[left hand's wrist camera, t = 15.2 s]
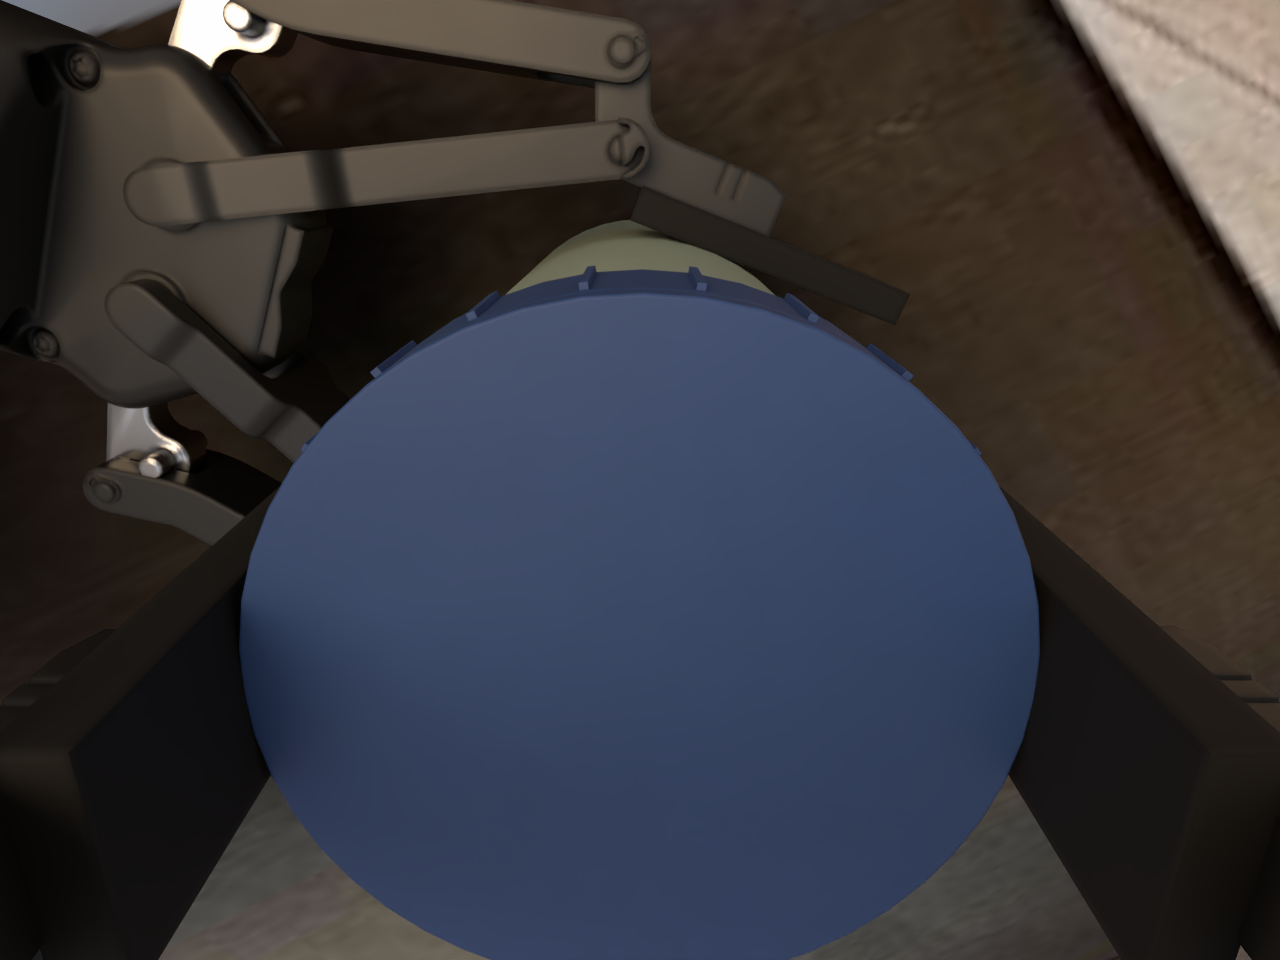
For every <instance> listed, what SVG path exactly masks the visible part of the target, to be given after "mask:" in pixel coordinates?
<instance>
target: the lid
mask: <svg viewBox="0 0 1280 960" xmlns="http://www.w3.org/2000/svg"><path fill="white" fill-rule="evenodd" d="M370 373H371V374H372V375H373V376H374V379H373V380H372V381H371V382H369V383H368V384H367V385H366V386H364V387H363V388H362V389H361V390H360V391H359V392H358V393H357V394H356V395H355V396H354V397H353V398H352V399H351V400H349V401H348V402H347V403H346V404H345V405H344V406H343V407H342V408H341V409H340V410H339V411H338V412H337V413H336V414H335V415H333V416H332V417H331V418H330V419H329V420H328V421H327V422H326V423H325V424H324V426H323V427H322V428H321V429H320V431H319V432H318V433H317V434H316V435H314V436H313V437H312V438H311V439H309V440H308V441H307V442H306V443H305V444H304V445H303V447H302V448H301V451H302V453H301V455H300V456H299V457H298V458H297V460H296V461H295V462H294V464H293V465H292V467H291V469H290V470H289V472H288V474H287V476H286V477H285V479H284V481H283V483H282V484H281V486H280V488H279V490H278V492H277V493H276V495H275V497H274V499H273V500H272V502H271V504H270V506H269V507H268V510H267V512H266V515H265V518H264V520H263V523H262V526H261V528H260V531H259V534H258V536H257V539H256V542H255V544H254V547H253V549H252V552H251V556H250V560H249V565H248V570H247V575H246V580H245V585H244V589H243V594H242V599H241V616H240V636H239V653H240V662H241V672H242V679H243V685H244V691H245V696H246V701H247V706H248V711H249V715H250V719H251V723H252V727H253V731H254V735H255V738H256V740H257V742H258V745H259V747H260V749H261V752H262V754H263V757H264V759H265V761H266V764H267V766H268V769H269V771H270V773H271V776H272V778H273V779H274V781H275V783H276V784H277V786H278V788H279V790H280V791H281V793H282V795H283V796H284V798H285V800H286V801H287V803H288V805H289V807H290V808H291V810H292V812H293V813H294V815H295V816H296V817H297V819H298V820H299V821H300V823H301V824H302V825H303V826H304V828H305V829H306V830H307V832H308V833H309V834H310V835H311V837H312V838H313V839H314V841H315V842H316V843H317V844H318V846H319V847H320V848H321V849H322V850H323V851H324V852H325V853H326V854H327V855H328V856H329V857H330V858H331V859H332V860H333V861H334V862H335V863H336V864H337V865H338V866H339V867H340V868H341V869H342V870H343V871H344V872H345V873H346V874H347V875H348V876H349V877H350V878H351V879H352V880H353V881H354V882H355V883H356V884H358V885H359V886H360V887H362V888H363V889H364V890H365V891H367V892H368V893H369V894H370V895H372V896H373V897H374V898H375V899H377V900H378V901H379V902H381V903H382V904H383V905H384V906H386V907H387V908H389V909H390V910H392V911H393V912H395V913H397V914H398V915H400V916H401V917H403V918H405V919H406V920H408V921H409V922H411V923H413V924H414V925H416V926H417V927H419V928H421V929H422V930H424V931H426V932H428V933H430V934H432V935H434V936H436V937H438V938H440V939H442V940H445V941H447V942H449V943H451V944H453V945H455V946H457V947H459V948H461V949H463V950H466V951H468V952H471V953H474V954H477V955H479V956H482V957H485V958H488V959H491V960H789V959H792V958H794V957H797V956H800V955H803V954H806V953H809V952H811V951H814V950H816V949H818V948H820V947H822V946H824V945H826V944H828V943H831V942H833V941H835V940H837V939H839V938H841V937H843V936H845V935H848V934H850V933H852V932H853V931H855V930H857V929H858V928H860V927H862V926H863V925H865V924H867V923H868V922H870V921H871V920H873V919H875V918H876V917H878V916H880V915H881V914H883V913H885V912H886V911H888V910H889V909H891V908H892V907H893V906H895V905H896V904H897V903H899V902H900V901H901V900H902V899H904V898H905V897H906V896H908V895H909V894H910V893H911V892H913V891H914V890H915V889H917V888H918V887H919V886H921V885H922V884H923V883H924V882H925V881H926V880H927V879H928V878H929V877H930V876H931V875H933V874H934V873H935V872H936V871H937V870H938V869H939V868H940V867H941V866H942V865H943V864H944V863H945V862H946V861H947V860H948V859H949V858H950V857H951V856H952V855H953V854H954V853H955V852H956V851H957V849H958V848H959V847H960V846H961V844H962V843H963V842H964V841H965V840H966V838H967V837H968V836H969V835H970V833H971V832H972V831H973V830H974V828H975V827H976V826H977V825H978V823H979V822H980V821H981V820H982V818H983V817H984V815H985V813H986V812H987V810H988V808H989V807H990V805H991V804H992V802H993V800H994V799H995V797H996V795H997V794H998V792H999V790H1000V789H1001V787H1002V785H1003V784H1004V782H1005V780H1006V778H1007V776H1008V774H1009V771H1010V769H1011V767H1012V764H1013V762H1014V760H1015V757H1016V755H1017V753H1018V751H1019V748H1020V746H1021V744H1022V741H1023V738H1024V735H1025V731H1026V727H1027V724H1028V720H1029V717H1030V712H1031V707H1032V703H1033V698H1034V692H1035V686H1036V681H1037V675H1038V667H1039V658H1040V631H1039V604H1038V599H1037V594H1036V589H1035V583H1034V578H1033V573H1032V568H1031V562H1030V558H1029V555H1028V552H1027V549H1026V547H1025V544H1024V541H1023V538H1022V535H1021V533H1020V530H1019V527H1018V524H1017V522H1016V519H1015V516H1014V513H1013V511H1012V509H1011V508H1010V506H1009V504H1008V502H1007V500H1006V498H1005V497H1004V495H1003V493H1002V491H1001V489H1000V487H999V486H998V484H997V482H996V480H995V478H994V476H993V475H992V473H991V471H990V469H989V468H988V466H987V465H986V464H985V462H984V461H983V460H982V458H981V457H980V456H981V455H982V454H981V452H980V451H979V449H978V448H977V447H976V446H975V445H974V444H972V443H971V442H970V441H969V440H967V439H966V438H965V436H964V435H963V434H962V432H961V431H960V430H959V428H958V427H957V426H956V425H955V424H954V423H953V422H952V421H951V420H950V419H949V418H948V417H947V416H946V415H945V414H944V413H942V412H941V411H940V410H939V409H938V408H937V407H936V406H935V405H934V404H933V403H932V402H931V401H930V400H929V399H928V398H927V397H926V396H925V395H924V394H923V393H922V392H921V391H920V390H919V389H918V388H916V387H915V386H914V385H912V384H911V383H910V382H909V381H910V380H911V379H912V377H913V375H912V374H911V373H910V372H909V371H907V370H906V369H905V368H903V367H902V366H901V365H899V364H898V363H897V362H895V361H894V360H893V359H891V358H890V357H889V356H887V355H886V354H885V353H883V352H882V351H881V350H879V349H878V348H877V347H875V346H874V345H873V344H871V343H870V344H869V345H868V346H867V347H866V348H865V347H864V346H862V345H861V344H860V343H858V342H857V341H855V340H854V339H853V338H851V337H850V336H848V335H847V334H846V333H844V332H843V331H841V330H840V329H839V328H837V327H836V326H834V325H833V324H832V323H830V322H829V321H827V320H825V319H823V318H821V317H819V316H818V315H817V314H816V313H815V312H813V311H812V310H811V309H810V308H808V307H807V306H806V305H805V304H804V303H802V302H801V301H800V300H799V299H797V298H796V297H795V296H793V295H791V294H789V293H787V294H786V296H785V298H784V299H783V298H781V297H778V296H775V295H772V294H770V293H767V292H764V291H761V290H758V289H756V288H753V287H750V286H747V285H744V284H742V283H737V282H733V281H728V280H723V279H718V278H714V277H709V276H704V275H702V274H701V272H700V271H699V269H698V268H697V267H691V266H690V267H689V271H688V273H686V272H672V271H659V270H646V269H638V270H622V271H605V272H596V266H588V267H587V268H586V270H585V271H584V273H583V274H581V275H576V276H571V277H566V278H561V279H556V280H550V281H545V282H542V283H539V284H536V285H533V286H530V287H527V288H524V289H521V290H518V291H515V292H512V293H510V294H507V295H504V296H501V297H500V295H499V293H498V291H495V292H493V293H491V294H489V295H488V296H487V297H485V298H484V299H483V300H482V301H481V302H479V303H478V304H477V305H476V306H475V307H473V308H472V309H471V310H470V311H469V312H467V313H466V314H464V315H462V316H460V317H458V318H456V319H454V320H452V321H451V322H450V323H448V324H447V325H445V326H444V327H442V328H441V329H440V330H438V331H437V332H435V333H434V334H432V335H431V336H429V337H428V338H427V339H425V340H424V341H422V342H421V343H419V344H418V345H417V344H416V343H415V342H414V340H412V341H411V342H409V343H408V344H407V345H405V346H404V347H403V348H401V349H400V350H398V351H397V352H396V353H394V354H393V355H392V356H390V357H389V358H388V359H386V360H385V361H384V362H382V363H381V364H380V365H378V366H377V367H376V368H375V369H373V370H372V371H371V372H370Z"/></svg>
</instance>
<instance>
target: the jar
mask: <svg viewBox="0 0 1280 960" xmlns="http://www.w3.org/2000/svg"><path fill="white" fill-rule="evenodd" d="M588 266H596V272H605V271H622V270H638V269H646V270H659V271H672V272H686V273H688V271H689V267H690V266H691V267H697V268H698V269H699V271H700V272H701V274H702V275H704V276H709V277H714V278H718V279H723V280H728V281H733V282H737V283H742V284H744V285H747V286H750V287H753V288H756V289H758V290H761V291H764V292H767V293H770V294H772V295H774V294H773V293H772V292H771V291H770V290H769V289H768V288H767V287H766V286H765V285H763V284H762V283H761V282H760V281H759V280H758V279H757V278H756V277H755V276H754V275H753V274H752V273H750V272H749V271H748V270H747V269H746V268H745V267H744V266H743V265H742V264H739V263H737V262H734V261H732V260H729V259H727V258H724V257H721V256H719V255H717V254H714V253H712V252H709V251H706V250H704V249H701V248H699V247H696V246H694V245H691V244H689V243H686V242H684V241H681V240H678V239H676V238H673V237H671V236H668V235H666V234H663V233H661V232H658V231H656V230H653V229H651V228H648V227H646V226H643V225H641V224H638V223H635V222H633V221H630V220H622V221H617V222H612V223H607V224H603V225H600V226H597V227H594V228H591V229H589V230H586V231H584V232H582V233H580V234H578V235H576V236H574V237H572V238H570V239H569V240H567V241H566V242H565V243H563V244H562V245H560V246H559V247H557V248H556V249H555V250H553V251H552V252H551V253H550V254H549V255H548V256H547V257H546V258H545V259H544V260H543V261H542V262H540V263H539V264H538V265H537V266H536V267H535V268H534V269H533V270H532V271H531V272H530V273H528V274H527V275H526V276H525V277H524V278H523V279H522V280H521V281H520V282H519V283H518V284H516V285H515V286H514V287H513V288H512V289H511V290H510V291H509V292H508V293H507V294H510V293H512V292H515V291H518V290H521V289H524V288H527V287H530V286H533V285H536V284H539V283H542V282H545V281H550V280H556V279H561V278H566V277H571V276H576V275H581V274H583V273H584V271H585V270H586V268H587V267H588ZM507 294H506V295H507Z"/></svg>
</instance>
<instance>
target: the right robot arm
mask: <svg viewBox="0 0 1280 960" xmlns="http://www.w3.org/2000/svg"><path fill="white" fill-rule="evenodd" d="M298 33H300V34H303V35H305V36H307V37H310V38H313V39H315V40H318V41H321V42H324V43H327V44H330V45H333V46H337V47H342V48H346V49H351V50H357V51H363V52H369V53H375V54H382V55H388V56H394V57H401V58H407V59H413V60H420V61H426V62H432V63H438V64H445V65H451V66H457V67H464V68H470V69H476V70H483V71H489V72H495V73H501V74H508V75H514V76H520V77H527V78H533V79H539V80H546V81H552V82H558V83H564V84H571V85H577V86H583V87H590V88H595V122H589V123H579V124H569V125H560V126H550V127H541V128H531V129H522V130H512V131H503V132H493V133H484V134H474V135H464V136H455V137H445V138H436V139H426V140H417V141H407V142H398V143H388V144H379V145H369V146H359V147H350V148H340V149H323V150H309V151H298V152H290V151H289V150H288V148H287V147H286V146H285V144H284V143H283V142H282V140H281V139H280V138H279V136H278V135H277V134H276V132H275V131H274V130H273V128H272V127H271V126H270V124H269V123H268V122H267V120H266V119H265V118H264V116H263V115H262V114H261V112H260V111H259V109H258V108H257V107H256V105H255V104H254V103H253V101H252V100H251V99H250V97H249V96H248V95H247V93H246V92H245V91H244V89H243V88H242V87H241V85H240V84H239V83H238V81H237V80H236V79H235V77H234V76H233V75H232V74H231V73H230V72H231V70H232V68H233V66H234V64H235V63H236V62H237V61H238V60H239V59H240V58H241V57H244V56H246V55H251V54H257V55H261V56H265V57H270V58H277V57H281V56H283V55H285V54H286V53H288V52H289V51H290V50H291V48H292V46H293V44H294V43H295V40H296V37H297V34H298ZM650 90H651V43H650V41H649V39H648V36H647V34H646V32H645V31H644V30H643V29H642V28H641V27H640V26H639V25H638V24H637V23H635V22H632V21H630V20H627V19H623V18H616V17H610V16H604V15H598V14H592V13H586V12H580V11H574V10H567V9H561V8H555V7H549V6H543V5H537V4H531V3H524V2H518V1H512V0H182V1H181V4H180V7H179V11H178V14H177V17H176V20H175V24H174V27H173V30H172V33H171V36H170V40H169V43H168V45H166V44H155V45H149V46H144V47H138V48H123V47H120V46H117V45H114V44H112V43H109V42H107V41H104V40H102V39H99V38H96V37H94V36H91V35H89V34H86V33H84V32H81V31H78V30H76V29H73V28H71V27H68V26H66V25H63V24H61V23H58V22H55V21H53V20H50V19H48V18H45V17H43V16H40V15H37V14H35V13H32V12H30V11H27V10H25V9H22V8H20V7H17V6H15V5H12V4H9V3H7V2H4V1H2V0H0V350H1V351H4V352H8V353H12V354H15V355H19V356H24V357H28V358H32V359H36V360H40V361H44V362H48V363H51V364H54V365H57V366H59V367H61V368H62V369H64V370H66V371H67V372H69V373H70V374H72V375H73V376H75V377H76V378H77V379H78V380H80V381H81V382H82V383H83V384H84V385H85V386H86V387H87V388H88V389H90V390H91V391H92V392H93V393H94V394H95V395H96V396H98V397H99V398H101V399H102V400H104V401H106V402H108V413H107V458H106V462H104V463H102V464H101V465H99V466H97V467H95V468H93V469H91V470H90V471H89V472H88V473H87V474H86V475H85V476H84V479H83V483H82V487H83V492H84V495H85V496H86V498H87V499H88V501H89V502H90V503H91V504H92V505H94V506H95V507H96V508H98V509H100V510H103V511H106V512H110V513H114V514H119V515H124V516H129V517H134V518H138V519H143V520H148V521H153V522H158V523H162V524H167V525H172V526H175V527H177V528H179V529H181V530H183V531H184V532H186V533H188V534H190V535H192V536H194V537H196V538H197V539H199V540H201V541H203V542H205V543H207V544H209V545H210V546H213V545H214V544H215V543H216V542H217V541H218V540H219V539H220V538H222V537H223V536H224V535H225V534H226V533H227V532H228V531H230V530H231V529H232V528H233V527H234V526H235V525H236V524H238V523H239V522H240V521H241V520H242V519H243V518H244V517H246V516H247V515H248V514H249V513H250V512H251V511H252V510H254V509H255V508H256V507H257V506H258V505H259V504H260V503H261V502H263V501H264V500H265V499H266V498H267V497H268V496H269V495H271V494H272V493H273V492H274V491H275V490H276V489H277V488H279V487H280V486H281V484H282V483H280V482H279V481H277V480H275V479H273V478H272V477H270V476H268V475H266V474H264V473H263V472H261V471H259V470H257V469H256V468H254V467H252V466H250V465H248V464H246V463H244V462H242V461H240V460H238V459H235V458H233V457H230V456H228V455H225V454H222V453H219V452H216V451H212V450H208V449H206V446H207V438H206V437H205V435H204V434H203V433H202V432H200V431H197V430H190V429H188V428H186V427H184V426H182V425H180V424H179V423H178V422H177V421H175V420H174V418H173V417H172V416H171V414H170V412H169V410H168V406H167V402H168V401H172V400H176V399H179V398H183V397H186V396H190V395H194V394H197V393H198V394H200V395H201V396H202V397H203V398H204V399H205V400H206V401H208V402H209V403H210V404H211V405H212V406H213V407H214V408H216V409H217V410H218V411H219V412H220V413H221V414H222V415H224V416H225V417H226V418H227V419H228V420H229V421H230V422H232V423H233V424H234V425H235V426H236V427H237V428H238V429H240V430H241V431H243V432H244V433H245V434H247V435H249V436H252V437H255V438H260V439H264V440H267V441H268V442H270V443H271V444H273V445H274V446H275V447H276V448H277V449H278V450H279V451H280V452H282V453H283V454H284V455H285V456H286V457H287V458H288V459H290V460H291V461H292V462H293V463H294V462H295V461H296V460H297V458H298V457H299V456H300V455H301V453H302V451H301V448H302V447H303V445H304V444H305V443H306V442H307V441H308V440H309V439H311V438H312V437H313V436H314V435H316V434H317V433H318V432H319V431H320V429H321V428H322V427H323V426H324V424H325V423H326V422H327V421H328V420H329V419H330V418H331V417H332V416H333V415H335V414H336V413H337V412H338V411H339V410H340V409H341V408H342V407H343V406H344V405H345V404H346V403H347V402H348V401H349V400H350V399H349V398H348V397H347V396H346V395H345V394H344V393H343V392H342V391H341V390H339V389H338V388H337V387H336V386H335V384H334V383H333V381H332V378H331V374H330V372H329V371H328V369H327V368H326V367H325V366H324V365H323V364H322V363H321V362H320V361H319V360H318V359H317V358H316V357H315V356H314V355H313V354H312V353H311V352H310V351H308V350H307V349H306V348H305V347H304V346H303V345H302V344H303V343H305V342H306V339H307V335H308V331H309V327H310V322H311V318H312V280H313V279H314V277H315V275H316V273H317V272H318V270H319V268H320V266H321V265H322V263H323V261H324V259H325V258H326V256H327V253H328V249H329V245H330V241H331V236H332V232H333V228H334V226H333V225H331V224H328V223H327V220H326V212H325V209H334V208H343V207H353V206H363V205H372V204H382V203H392V202H402V201H411V200H421V199H431V198H441V197H451V196H460V195H470V194H480V193H490V192H499V191H509V190H519V189H529V188H538V187H548V186H558V185H568V184H577V183H587V182H597V181H607V180H617V179H620V180H623V181H625V182H628V183H630V184H633V185H635V186H638V187H640V191H639V194H638V197H637V200H636V202H635V205H634V208H633V211H632V214H631V218H630V221H633V222H635V223H638V224H641V225H643V226H646V227H648V228H651V229H653V230H656V231H658V232H661V233H663V234H666V235H668V236H671V237H673V238H676V239H678V240H681V241H684V242H686V243H689V244H691V245H694V246H696V247H699V248H701V249H704V250H706V251H709V252H712V253H714V254H717V255H719V256H721V257H724V258H727V259H729V260H732V261H734V262H737V263H739V264H742V265H744V266H747V267H749V268H752V269H754V270H757V271H759V272H762V273H764V274H767V275H770V276H772V277H775V278H777V279H780V280H782V281H785V282H787V283H790V284H792V285H795V286H797V287H800V288H802V289H805V290H807V291H810V292H813V293H815V294H818V295H820V296H823V297H825V298H828V299H830V300H833V301H835V302H838V303H840V304H843V305H845V306H848V307H850V308H853V309H856V310H858V311H861V312H863V313H866V314H868V315H871V316H873V317H876V318H878V319H881V320H883V321H886V322H888V323H891V324H893V325H895V324H896V322H897V320H898V318H899V316H900V314H901V312H902V310H903V307H904V305H905V303H906V301H907V299H908V297H909V295H910V294H909V293H906V292H904V291H902V290H900V289H898V288H895V287H893V286H891V285H889V284H887V283H885V282H882V281H880V280H878V279H875V278H873V277H870V276H868V275H865V274H863V273H860V272H858V271H855V270H853V269H851V268H848V267H846V266H843V265H841V264H838V263H836V262H833V261H831V260H828V259H826V258H823V257H821V256H818V255H816V254H813V253H811V252H808V251H806V250H803V249H801V248H798V247H796V246H793V245H791V244H788V243H786V242H783V241H781V240H778V239H776V238H773V237H771V236H770V235H771V232H772V230H773V227H774V225H775V222H776V220H777V218H778V215H779V213H780V210H781V208H782V206H783V203H784V201H785V198H786V195H785V194H784V193H783V192H782V191H781V190H780V189H779V188H778V187H777V186H776V185H775V184H774V183H773V182H772V181H771V180H770V179H769V178H766V177H764V176H761V175H759V174H756V173H754V172H752V171H749V170H746V169H744V168H742V167H739V166H737V165H735V164H732V163H729V162H727V161H725V160H722V159H720V158H717V157H715V156H713V155H710V154H708V153H705V152H703V151H700V150H698V149H696V148H693V147H691V146H688V145H686V144H683V143H681V142H678V141H676V140H674V139H672V138H670V137H668V136H667V135H665V134H664V133H663V132H662V131H661V130H660V129H659V127H658V126H657V124H656V123H655V121H654V118H653V115H652V112H651V104H650Z"/></svg>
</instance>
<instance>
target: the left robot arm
mask: <svg viewBox="0 0 1280 960" xmlns="http://www.w3.org/2000/svg"><path fill="white" fill-rule="evenodd" d="M998 486H999V485H998ZM999 487H1000V486H999ZM279 488H280V487H279ZM279 488H277V489H276V490H275V491H274V492H273V493H272V494H271V495H269V496H268V497H267V498H266V499H265V500H264V501H263V502H261V503H260V504H259V505H258V506H257V507H256V508H255V509H254V510H252V511H251V512H250V513H249V514H248V515H247V516H246V517H244V518H243V519H242V520H241V521H240V522H239V523H238V524H236V525H235V526H234V527H233V528H232V529H231V530H230V531H228V532H227V533H226V534H225V535H224V536H223V537H222V538H220V539H219V540H218V541H217V542H216V543H215V544H214V545H213V546H211V547H210V548H209V549H208V550H207V551H206V552H205V553H203V554H202V555H201V556H200V557H199V558H198V559H197V560H195V561H194V562H193V563H192V564H191V565H190V566H189V567H187V568H186V569H185V570H184V571H183V572H182V573H181V574H180V575H178V576H177V577H176V578H175V579H174V580H173V581H172V582H170V583H169V584H168V585H167V586H166V587H165V588H164V589H162V590H161V591H160V592H159V593H158V594H157V595H156V596H154V597H153V598H152V599H151V600H150V601H149V602H148V603H147V604H145V605H144V606H143V607H142V608H141V609H140V610H139V611H137V612H136V613H135V614H134V615H133V616H132V617H131V618H129V619H128V620H127V621H126V622H125V623H124V624H123V625H121V626H120V627H119V628H118V629H105V630H103V631H101V632H99V633H97V634H95V635H93V636H91V637H89V638H87V639H85V640H83V641H81V642H79V643H77V644H75V645H74V646H72V647H70V648H68V649H66V650H64V651H62V652H60V653H59V654H58V655H57V656H55V657H54V658H53V659H52V660H51V661H49V662H48V663H47V664H46V665H45V666H43V667H42V668H41V669H40V670H39V671H37V672H36V673H35V674H34V675H33V676H31V677H30V678H29V683H28V684H22V685H21V686H19V687H18V688H17V689H16V690H15V691H13V692H12V693H11V694H10V695H9V696H7V697H6V698H5V699H4V700H3V701H2V706H1V707H0V960H31V959H32V958H33V957H34V955H35V954H36V953H37V952H38V950H39V949H40V950H41V953H42V956H43V959H44V960H158V959H159V957H160V956H161V954H162V953H163V951H164V949H165V948H166V946H167V944H168V943H169V941H170V939H171V938H172V936H173V934H174V933H175V931H176V930H177V928H178V926H179V925H180V923H181V921H182V920H183V918H184V916H185V915H186V913H187V912H188V910H189V908H190V907H191V905H192V903H193V902H194V900H195V898H196V897H197V895H198V893H199V892H200V890H201V889H202V887H203V885H204V884H205V882H206V880H207V879H208V877H209V875H210V874H211V872H212V871H213V869H214V867H215V866H216V864H217V862H218V861H219V859H220V857H221V856H222V854H223V852H224V851H225V849H226V848H227V846H228V844H229V843H230V841H231V839H232V838H233V836H234V834H235V833H236V831H237V830H238V828H239V826H240V825H241V823H242V821H243V820H244V818H245V816H246V815H247V813H248V811H249V810H250V808H251V807H252V805H253V803H254V802H255V800H256V798H257V797H258V795H259V793H260V792H261V790H262V789H263V787H264V785H265V784H266V782H267V780H268V779H269V777H270V775H271V773H270V771H269V769H268V766H267V764H266V761H265V759H264V757H263V754H262V752H261V749H260V747H259V745H258V742H257V740H256V738H255V735H254V731H253V727H252V723H251V719H250V715H249V711H248V706H247V701H246V696H245V691H244V685H243V679H242V672H241V662H240V653H239V636H240V616H241V599H242V594H243V589H244V585H245V580H246V575H247V570H248V565H249V560H250V556H251V552H252V549H253V547H254V544H255V542H256V539H257V536H258V534H259V531H260V528H261V526H262V523H263V520H264V518H265V515H266V512H267V510H268V507H269V506H270V504H271V502H272V500H273V499H274V497H275V495H276V493H277V492H278V490H279ZM1000 489H1001V491H1002V493H1003V495H1004V497H1005V498H1006V500H1007V502H1008V504H1009V506H1010V508H1011V509H1012V511H1013V513H1014V516H1015V519H1016V522H1017V524H1018V527H1019V530H1020V533H1021V535H1022V538H1023V541H1024V544H1025V547H1026V549H1027V552H1028V555H1029V558H1030V562H1031V568H1032V573H1033V578H1034V583H1035V589H1036V594H1037V599H1038V604H1039V631H1040V658H1039V667H1038V675H1037V681H1036V686H1035V692H1034V698H1033V703H1032V707H1031V712H1030V717H1029V720H1028V724H1027V727H1026V731H1025V735H1024V738H1023V741H1022V744H1021V746H1020V748H1019V751H1018V753H1017V755H1016V757H1015V760H1014V762H1013V764H1012V767H1011V769H1010V771H1009V774H1008V775H1009V776H1010V778H1011V780H1012V781H1013V783H1014V784H1015V786H1016V788H1017V789H1018V791H1019V793H1020V794H1021V796H1022V798H1023V799H1024V801H1025V803H1026V804H1027V806H1028V807H1029V809H1030V811H1031V812H1032V814H1033V816H1034V817H1035V819H1036V821H1037V822H1038V824H1039V826H1040V827H1041V829H1042V830H1043V832H1044V834H1045V835H1046V837H1047V839H1048V840H1049V842H1050V844H1051V845H1052V847H1053V848H1054V850H1055V852H1056V853H1057V855H1058V857H1059V858H1060V860H1061V862H1062V863H1063V865H1064V867H1065V868H1066V870H1067V871H1068V873H1069V875H1070V876H1071V878H1072V880H1073V881H1074V883H1075V885H1076V886H1077V888H1078V889H1079V891H1080V893H1081V894H1082V896H1083V898H1084V899H1085V901H1086V903H1087V904H1088V906H1089V908H1090V909H1091V911H1092V912H1093V914H1094V916H1095V917H1096V919H1097V921H1098V922H1099V924H1100V926H1101V927H1102V929H1103V930H1104V932H1105V934H1106V935H1107V937H1108V939H1109V940H1110V942H1111V944H1112V945H1113V947H1114V949H1115V950H1116V952H1117V953H1118V955H1119V957H1120V958H1121V960H1236V957H1237V954H1238V951H1239V948H1240V945H1241V946H1242V948H1243V949H1244V950H1245V951H1246V953H1247V954H1248V955H1249V957H1250V958H1251V959H1252V960H1280V703H1279V702H1278V697H1277V696H1276V695H1275V694H1273V693H1272V692H1271V691H1270V690H1268V689H1267V688H1266V687H1265V686H1264V685H1262V684H1261V683H1260V682H1259V681H1252V679H1251V675H1250V674H1249V673H1248V672H1247V671H1245V670H1244V669H1243V668H1242V667H1241V666H1239V665H1238V664H1237V663H1236V662H1235V661H1233V660H1232V659H1231V658H1230V657H1229V656H1227V655H1226V654H1225V653H1224V652H1222V651H1221V650H1220V649H1219V648H1217V647H1215V646H1213V645H1211V644H1209V643H1207V642H1205V641H1203V640H1201V639H1199V638H1197V637H1195V636H1193V635H1191V634H1189V633H1187V632H1185V631H1183V630H1181V629H1179V628H1177V627H1175V626H1158V625H1157V624H1156V623H1154V622H1153V621H1152V620H1151V619H1150V618H1149V617H1148V616H1147V615H1145V614H1144V613H1143V612H1142V611H1141V610H1140V609H1139V608H1137V607H1136V606H1135V605H1134V604H1133V603H1132V602H1131V601H1129V600H1128V599H1127V598H1126V597H1125V596H1124V595H1123V594H1121V593H1120V592H1119V591H1118V590H1117V589H1116V588H1115V587H1114V586H1112V585H1111V584H1110V583H1109V582H1108V581H1107V580H1106V579H1104V578H1103V577H1102V576H1101V575H1100V574H1099V573H1098V572H1096V571H1095V570H1094V569H1093V568H1092V567H1091V566H1090V565H1088V564H1087V563H1086V562H1085V561H1084V560H1083V559H1082V558H1081V557H1079V556H1078V555H1077V554H1076V553H1075V552H1074V551H1073V550H1071V549H1070V548H1069V547H1068V546H1067V545H1066V544H1065V543H1063V542H1062V541H1061V540H1060V539H1059V538H1058V537H1057V536H1055V535H1054V534H1053V533H1052V532H1051V531H1050V530H1049V529H1048V528H1046V527H1045V526H1044V525H1043V524H1042V523H1041V522H1040V521H1038V520H1037V519H1036V518H1035V517H1034V516H1033V515H1032V514H1030V513H1029V512H1028V511H1027V510H1026V509H1025V508H1024V507H1022V506H1021V505H1020V504H1019V503H1018V502H1017V501H1016V500H1015V499H1013V498H1012V497H1011V496H1010V495H1009V494H1008V493H1007V492H1005V491H1004V490H1003V489H1002V488H1001V487H1000Z"/></svg>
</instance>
